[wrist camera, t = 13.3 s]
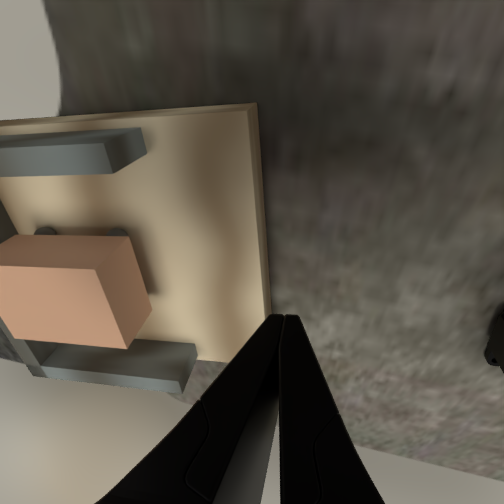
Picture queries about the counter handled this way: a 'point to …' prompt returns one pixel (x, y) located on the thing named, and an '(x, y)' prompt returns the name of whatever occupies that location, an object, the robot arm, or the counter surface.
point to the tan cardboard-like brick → (72, 288)
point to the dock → (149, 229)
